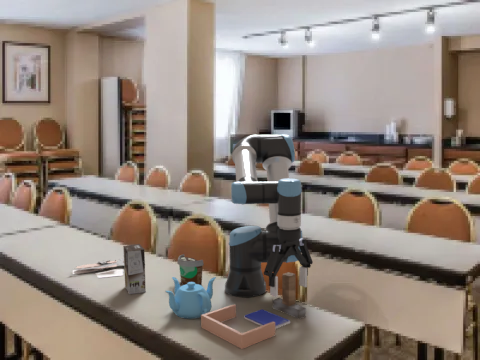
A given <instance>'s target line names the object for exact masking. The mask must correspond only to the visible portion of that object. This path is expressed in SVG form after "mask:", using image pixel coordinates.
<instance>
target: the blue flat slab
mask: <svg viewBox="0 0 480 360" xmlns="http://www.w3.org/2000/svg"><path fill="white" fill-rule="evenodd" d="M243 318H244V319H245V320H247V321H249V322H252V323H254V324H255V325H259V327H260V326H262V325H265V324H268V323H270V322H275V330H276V328H277V329H279V328H281V326H282V327H284V326H286V324H287V325H289V324H291V320H290V319H287V318H284V317H283V316H280V315H278V314H275V313H273V312H270V311H267V310H265V309H258V310H256V311H252V312H250V313H247V314H245V315H244V317H243ZM283 325H284V326H283ZM278 327H279V328H278Z"/></svg>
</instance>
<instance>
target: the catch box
mask: <svg viewBox="0 0 480 360" xmlns="http://www.w3.org/2000/svg"><path fill="white" fill-rule="evenodd" d="M235 318H237V305H236V304H234V303H233V304H230V305H227V306H224V307H221V308H218V309H215V310H213V311H209V312H208V313H206V314H202V315H201V317H200V323H201V324H200V326H201V327H200V328H202V329H203V330H206V332H209V333H211V334H212V335H214V336H217V337H218V338H220V339H222V340H224V341H226V342H228V343H230V344H232V345H233V346H235V347H237V348H239V349H241V350H243V349H246V348H248V347H251V346H253V345H255V344H258V343H260V342H263V341H265V340H268V339H271V338H272V336H273V337H275V336H276V329H275V322H270V323H268V324H265V325H262V326H260V325H259V326H258V327H255V328H252V329H249V330H247V331H245V332H240V331H239V330H237V329H235V328H232V327H231V326H229V325H226V324H225V323H223V322H226V321H229V320H232V319H235ZM274 335H275V336H274Z"/></svg>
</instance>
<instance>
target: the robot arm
mask: <svg viewBox="0 0 480 360" xmlns="http://www.w3.org/2000/svg"><path fill="white" fill-rule="evenodd" d="M294 145H295V144H294V140H293V138H292V136H290V135H289V134H282V133H278V134H249V135H246V136H245V137H243V138H241V139H240V140H239V141H237V143H236V144H235V145H234V147H233V149H232V151H231V158H232V162H233V164H235V166H234V168H235V181H233V182H232V183H231V184H230V191H231V193H230V196H231V202H232V203H233V204H234V205H263V204H264V205H266V204H267V205H268V212H269V213H268V214H269V216H268V217H269V223H268V224H267V225H266V226H265V229H266V230H262V228H261V226H260V225H245V226H241V227H237V228H235V229H232V231H230V233H229V238H228V239H229V241H228V246H229V247H228V248H229V249H228V250H229V252H228V253H229V259H228V260H229V262H228V263H229V264H228V265H229V271H228V275H227V279H226V281H225V284H224V291H225V293H226V294H228V295H230V296H232V297H237V298H238V297H239V298H251V297H257V296H260V295H264V294H265V292H267V284H266V281H265V277H264V276H267V277H268V286H269V296H271V297H274V298H279V293H278V292H279V291H278V290H279V277H278V276H277V275H278V272H279V271H280V269H281V267H282V265H283V264H284V263H294V262H295V263H296V262H298V263H299V264H300V265H301V266H299V267H298V268H299V271H298V272H299V283H298V285H299V286H301V287H303V288H308V287H307V286H308V275H309V269H310V268H311V267H312V265H313V259H312V257H311V254H310V253H311V252H310V251H309V248H308V246H307V245H308V244H307V239H306V238H303V230H302V229H301V226H302V192H303V190H302V182H301V180H300V179H298V178H293V177H292V178H290V177H289V176H290V175H289V174H290V173H289V169H291V167H292V164H293V163H295V160H296V152H295V146H294ZM256 164H262V168H263V169H264V170H265V171H266V178H267V181H259V180H258V175H257V174H258V173H257V168H256ZM262 263H266V265H265V268H264V271H262Z"/></svg>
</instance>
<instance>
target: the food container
mask: <svg viewBox="0 0 480 360" xmlns="http://www.w3.org/2000/svg"><path fill="white" fill-rule="evenodd" d="M204 264H205V263H204V260H203V259H199V260H197V259H195V258H194V257H187V256H185V253H183V254H181V255H179V256H178V258H177V265H178V266H179V273H180V275H179V276H180V283H181V285H182V286H183V285H186V284H187V283H188V282H195V284H199V285H201V286H203V285H202V284H203V283H202V282H203V281H202V280H203V266H205V265H204Z"/></svg>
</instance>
